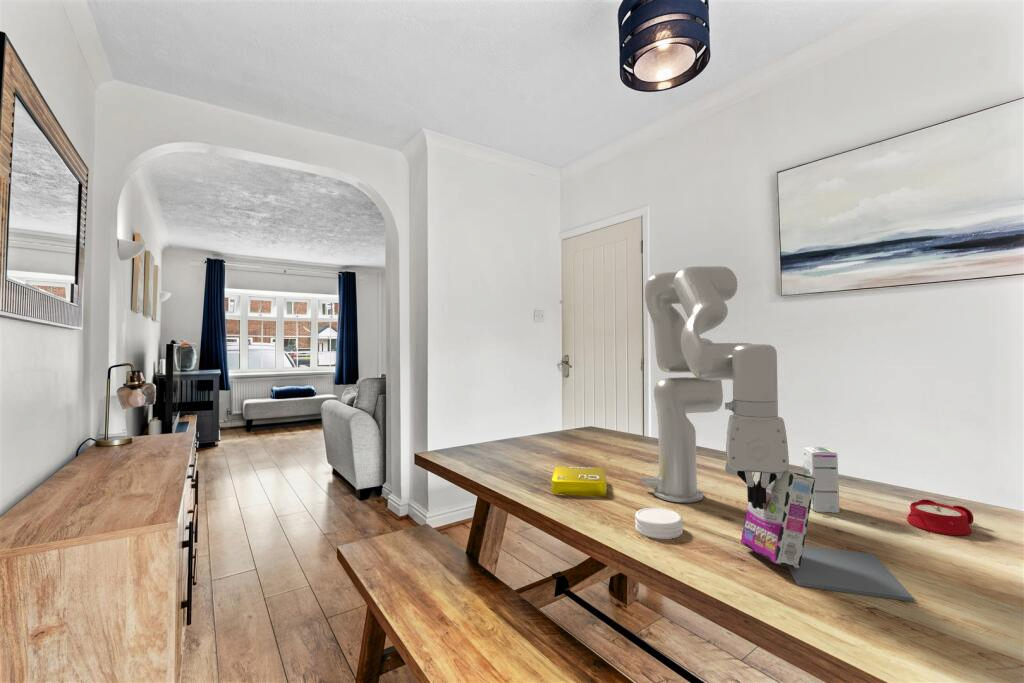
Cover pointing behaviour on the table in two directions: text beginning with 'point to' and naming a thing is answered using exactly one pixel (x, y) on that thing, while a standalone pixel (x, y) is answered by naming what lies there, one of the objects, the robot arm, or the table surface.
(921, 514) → the alarm clock
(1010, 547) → the table surface
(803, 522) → the candy bar box
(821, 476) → the syrup box
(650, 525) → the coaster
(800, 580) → the slate mat
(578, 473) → the element tile
